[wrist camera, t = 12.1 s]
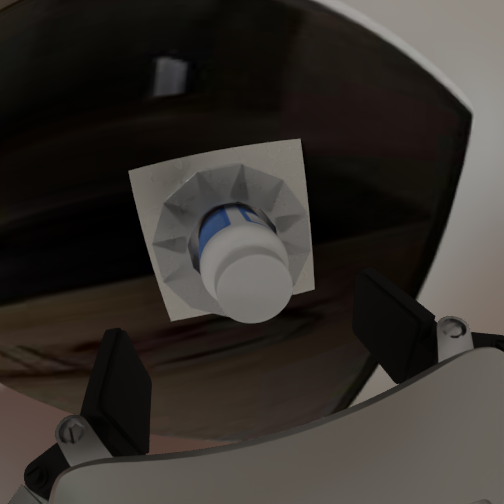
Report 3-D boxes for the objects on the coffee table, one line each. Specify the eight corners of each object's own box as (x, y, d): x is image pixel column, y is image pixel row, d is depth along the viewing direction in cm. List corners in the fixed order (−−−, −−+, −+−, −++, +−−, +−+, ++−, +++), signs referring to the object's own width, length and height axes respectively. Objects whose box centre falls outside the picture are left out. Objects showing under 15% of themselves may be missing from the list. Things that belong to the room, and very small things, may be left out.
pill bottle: (204, 269, 23) (209, 342, 14) (193, 208, 21) (188, 251, 12) (266, 259, 24) (305, 323, 15) (260, 198, 22) (303, 232, 13)
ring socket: (130, 170, 20) (117, 174, 17) (297, 139, 22) (314, 137, 18) (171, 316, 25) (168, 340, 22) (311, 285, 27) (326, 304, 23)
